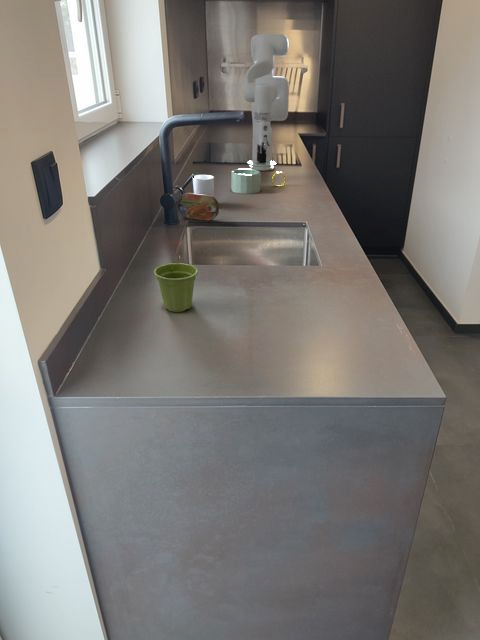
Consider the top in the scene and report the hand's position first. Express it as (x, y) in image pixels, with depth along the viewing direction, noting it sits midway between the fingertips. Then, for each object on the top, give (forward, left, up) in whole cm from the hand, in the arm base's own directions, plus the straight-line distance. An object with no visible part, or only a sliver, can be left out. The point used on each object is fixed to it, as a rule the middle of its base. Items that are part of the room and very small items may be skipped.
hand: (261, 161), depth 223 cm
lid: (0, 0, -1) cm, 1 cm away
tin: (+56, -38, -8) cm, 68 cm away
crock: (+19, -12, -8) cm, 24 cm away
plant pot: (+123, -54, -8) cm, 134 cm away
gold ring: (+14, +4, -8) cm, 16 cm away
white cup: (+38, -33, -8) cm, 51 cm away
